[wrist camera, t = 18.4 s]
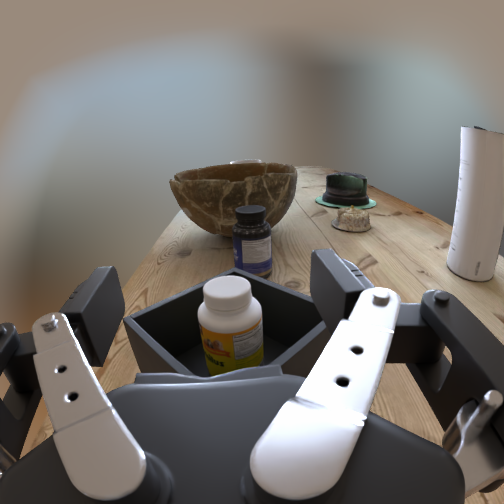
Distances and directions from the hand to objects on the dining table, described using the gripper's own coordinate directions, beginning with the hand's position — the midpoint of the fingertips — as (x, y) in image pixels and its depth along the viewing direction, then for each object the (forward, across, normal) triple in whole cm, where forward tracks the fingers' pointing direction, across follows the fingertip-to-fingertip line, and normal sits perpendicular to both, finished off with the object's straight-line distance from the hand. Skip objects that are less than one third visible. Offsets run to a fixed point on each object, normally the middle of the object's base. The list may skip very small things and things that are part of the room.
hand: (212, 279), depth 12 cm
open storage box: (+11, 0, +17) cm, 21 cm away
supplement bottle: (+11, 0, +17) cm, 20 cm away
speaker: (+26, -44, +17) cm, 54 cm away
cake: (+55, -31, +17) cm, 65 cm away
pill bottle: (+34, -5, +17) cm, 39 cm away
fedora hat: (+79, -40, +17) cm, 90 cm away
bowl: (+55, -3, +17) cm, 58 cm away
